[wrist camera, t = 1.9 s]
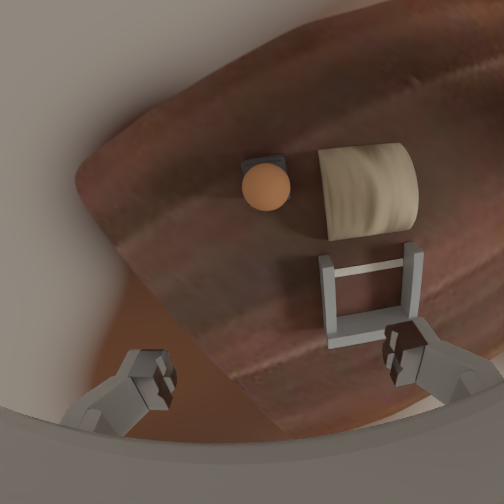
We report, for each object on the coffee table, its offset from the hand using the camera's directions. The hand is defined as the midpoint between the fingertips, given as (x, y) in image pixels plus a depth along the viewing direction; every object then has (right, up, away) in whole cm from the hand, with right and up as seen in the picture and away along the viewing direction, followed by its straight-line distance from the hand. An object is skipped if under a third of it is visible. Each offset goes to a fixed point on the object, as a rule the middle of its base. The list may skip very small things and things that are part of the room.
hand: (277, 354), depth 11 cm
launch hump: (+11, +12, +25) cm, 30 cm away
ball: (0, +9, +14) cm, 17 cm away
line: (+12, +2, +23) cm, 26 cm away
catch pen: (+13, -1, +24) cm, 27 cm away
